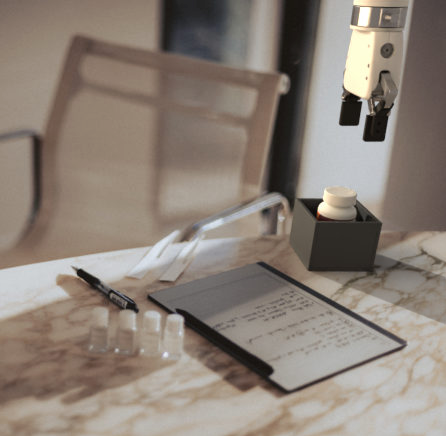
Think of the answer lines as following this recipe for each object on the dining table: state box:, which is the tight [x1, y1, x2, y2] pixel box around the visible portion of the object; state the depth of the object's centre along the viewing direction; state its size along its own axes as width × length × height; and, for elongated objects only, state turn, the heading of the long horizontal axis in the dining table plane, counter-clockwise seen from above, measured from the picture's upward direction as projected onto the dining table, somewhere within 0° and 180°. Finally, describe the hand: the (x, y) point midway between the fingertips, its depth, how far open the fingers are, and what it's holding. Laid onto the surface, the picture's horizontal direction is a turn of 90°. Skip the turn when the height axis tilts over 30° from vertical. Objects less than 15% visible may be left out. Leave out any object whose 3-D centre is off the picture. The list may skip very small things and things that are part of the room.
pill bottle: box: [316, 186, 358, 222], centre depth 104 cm, size 6×6×11 cm
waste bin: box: [288, 197, 383, 272], centre depth 105 cm, size 11×11×9 cm
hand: (360, 133), depth 98 cm, fingers open, 9 cm apart
